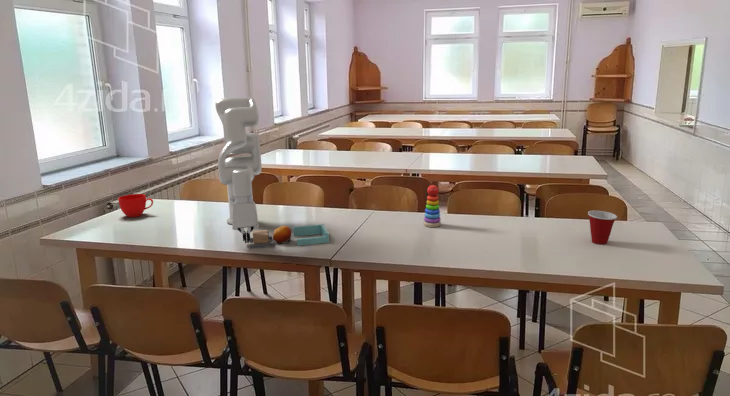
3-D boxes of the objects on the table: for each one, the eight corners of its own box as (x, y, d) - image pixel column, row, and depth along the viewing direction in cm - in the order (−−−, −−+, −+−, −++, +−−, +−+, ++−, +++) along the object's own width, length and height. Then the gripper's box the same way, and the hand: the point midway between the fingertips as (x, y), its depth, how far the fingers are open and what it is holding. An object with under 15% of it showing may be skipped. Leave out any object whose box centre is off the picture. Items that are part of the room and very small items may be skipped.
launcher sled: (253, 241, 228) (252, 231, 227) (269, 239, 230) (268, 229, 229) (253, 246, 221) (253, 236, 220) (270, 244, 223) (269, 234, 222)
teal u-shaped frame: (293, 235, 236) (293, 226, 235) (323, 232, 238) (323, 224, 237) (297, 245, 222) (296, 236, 221) (329, 242, 225) (328, 233, 224)
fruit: (292, 241, 222) (281, 225, 221) (277, 250, 224) (267, 234, 224) (298, 236, 230) (288, 220, 229) (284, 244, 232) (274, 229, 231)
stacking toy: (421, 226, 243) (421, 186, 239) (426, 222, 250) (426, 182, 246) (438, 228, 240) (438, 187, 236) (442, 223, 247) (443, 183, 243)
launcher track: (248, 241, 229) (248, 238, 229) (272, 239, 231) (272, 235, 231) (249, 248, 220) (248, 245, 219) (273, 246, 222) (273, 242, 222)
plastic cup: (612, 248, 208) (615, 218, 205) (583, 244, 214) (585, 215, 211) (616, 240, 217) (619, 211, 214) (588, 236, 223) (590, 208, 220)
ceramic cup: (149, 218, 270) (147, 199, 267) (116, 219, 270) (113, 200, 268) (159, 211, 282) (157, 193, 280) (127, 212, 283) (125, 194, 280)
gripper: (224, 202, 215) (228, 246, 219) (262, 199, 218) (265, 243, 222) (224, 198, 222) (228, 241, 226) (261, 195, 225) (264, 237, 229)
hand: (246, 242), depth 224 cm, fingers closed
